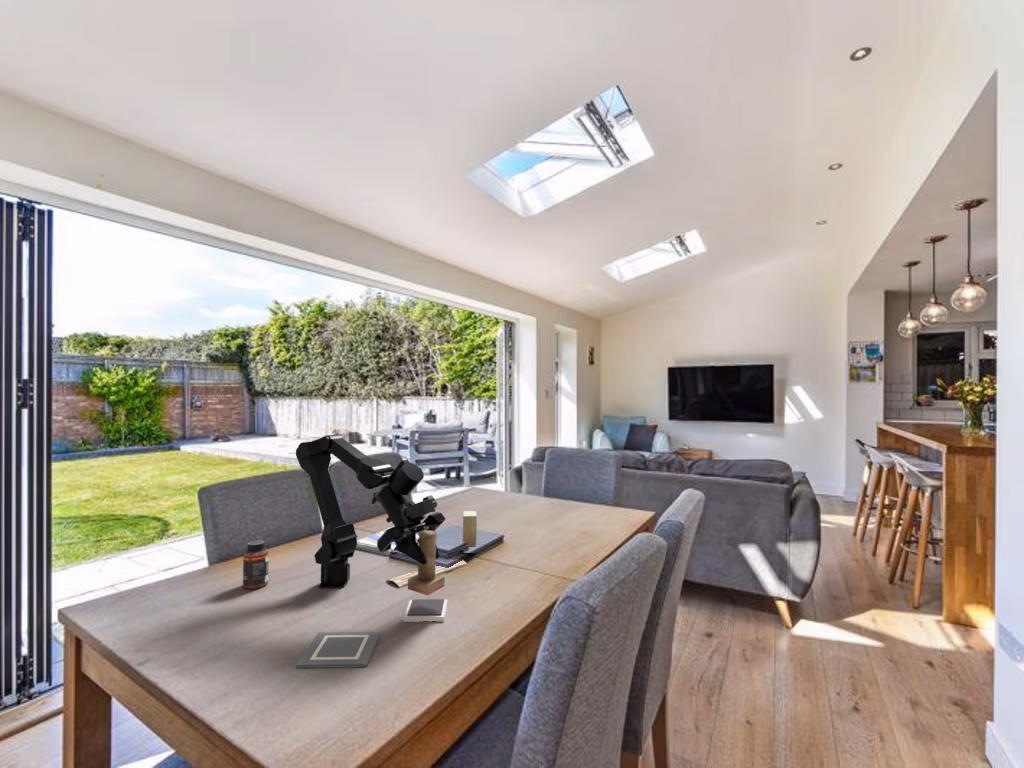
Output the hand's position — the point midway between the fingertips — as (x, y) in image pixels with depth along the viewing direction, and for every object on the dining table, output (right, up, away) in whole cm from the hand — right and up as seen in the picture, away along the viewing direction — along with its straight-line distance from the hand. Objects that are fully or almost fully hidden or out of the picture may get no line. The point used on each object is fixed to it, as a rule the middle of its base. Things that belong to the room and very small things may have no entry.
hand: (431, 561), depth 114 cm
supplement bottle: (-49, -12, +15) cm, 52 cm away
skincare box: (+5, -13, +44) cm, 46 cm away
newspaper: (-5, -13, +25) cm, 29 cm away
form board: (-16, -12, -16) cm, 25 cm away
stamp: (-2, -7, +1) cm, 7 cm away
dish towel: (-22, -13, +52) cm, 58 cm away
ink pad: (-1, -12, +1) cm, 12 cm away
